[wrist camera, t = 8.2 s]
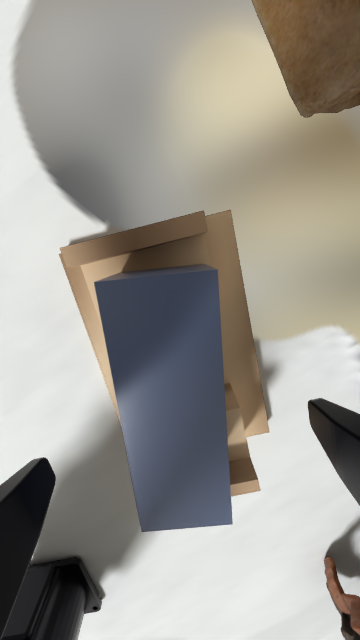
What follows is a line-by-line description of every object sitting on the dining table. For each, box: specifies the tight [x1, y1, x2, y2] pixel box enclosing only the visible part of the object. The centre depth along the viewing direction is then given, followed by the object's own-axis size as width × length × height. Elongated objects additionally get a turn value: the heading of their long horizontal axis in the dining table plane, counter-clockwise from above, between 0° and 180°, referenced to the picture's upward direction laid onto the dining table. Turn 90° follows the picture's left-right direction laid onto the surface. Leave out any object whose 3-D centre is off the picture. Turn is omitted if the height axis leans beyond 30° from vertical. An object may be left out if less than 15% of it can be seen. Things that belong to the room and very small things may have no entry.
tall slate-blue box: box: [94, 264, 232, 532], centre depth 11 cm, size 11×4×4 cm, turn 6°
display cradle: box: [59, 210, 269, 496], centre depth 14 cm, size 10×15×5 cm, turn 14°
